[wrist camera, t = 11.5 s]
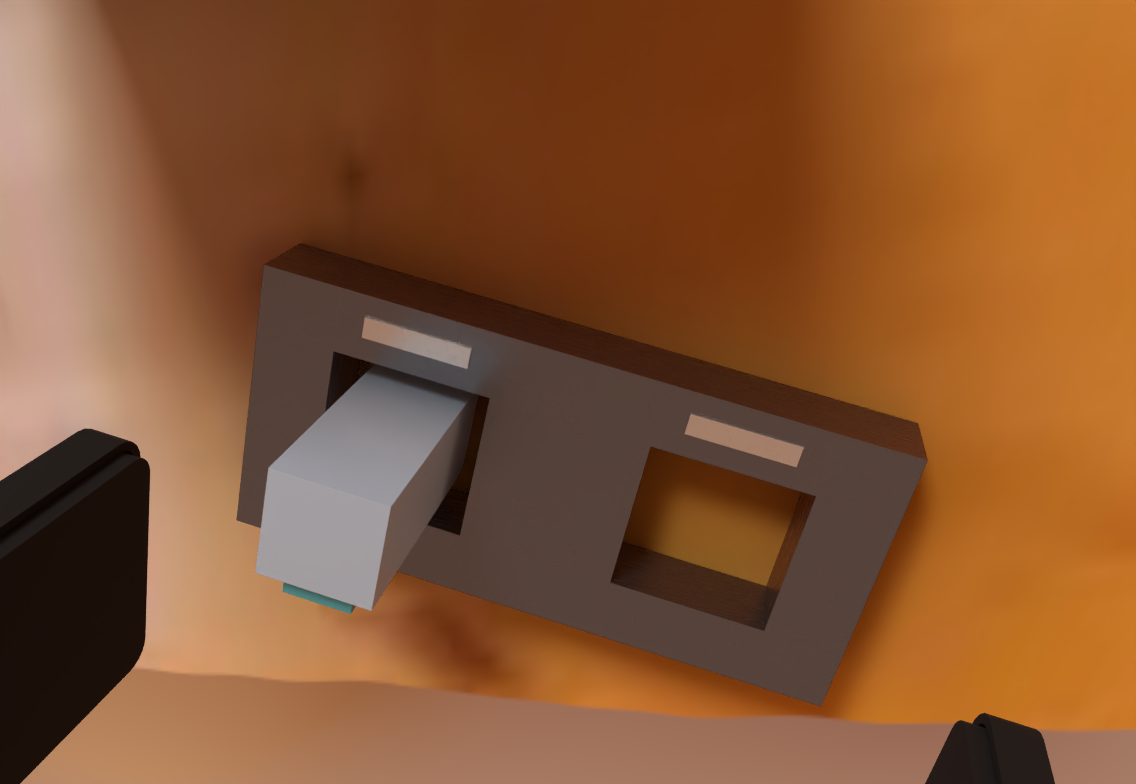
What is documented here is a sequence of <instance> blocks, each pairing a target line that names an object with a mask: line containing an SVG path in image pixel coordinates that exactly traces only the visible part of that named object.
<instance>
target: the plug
mask: <svg viewBox="0 0 1136 784" xmlns="http://www.w3.org/2000/svg"><path fill="white" fill-rule="evenodd" d="M478 396H479V395H477V394H474V393H471V392H467V391H464V390H461V389H457V388H454V387H451V386H447V385H444V384H441V383H437V382H434V381H431V380H428V379H424V378H421V377H418V376H414V375H411V374H408V373H404V372H401V371H398V370H394V369H391V368H388V367H384V366H381V365H378V364H374V365H373V366H372V367H371V368H370V369H369V370H368V371H367V372H366V373H365V374H364V375H363V376H362V377H361V378H360V379H359V380H358V381H357V382H356V383H355V384H354V385H353V386H352V387H351V388H350V389H349V390H348V391H347V392H346V393H345V394H343V395H342V396H341V397H340V398H339V399H338V400H337V401H336V402H335V403H334V404H333V405H332V406H331V407H330V408H329V409H328V410H327V411H326V412H325V413H324V414H323V415H322V416H321V417H320V418H319V419H318V420H317V421H316V422H315V423H314V424H313V425H312V426H311V427H310V428H309V429H308V430H307V431H306V432H305V433H304V434H303V435H301V436H300V437H299V438H298V439H297V440H296V441H295V442H294V443H293V444H292V445H291V446H290V447H289V448H288V449H287V450H286V451H285V452H284V453H283V454H282V455H281V456H280V457H279V458H278V459H277V460H276V461H275V462H274V463H273V464H272V465H271V466H270V467H269V468H268V475H267V483H266V491H265V499H264V507H263V515H262V523H261V531H260V539H259V547H258V555H257V563H256V571H255V573H257V574H260V575H263V576H266V577H269V578H272V579H275V580H279V581H282V582H284V585H283V592H285V593H288V594H291V595H294V596H297V597H301V598H304V599H307V600H310V601H313V602H316V603H319V604H322V605H325V606H328V607H331V608H334V609H337V610H340V611H343V612H346V613H349V614H351V613H352V611H353V610H354V608H355V607H356V606H358V607H361V608H364V609H367V610H370V611H372V609H373V608H374V606H375V605H376V603H377V602H378V600H379V599H380V597H381V595H382V594H383V592H384V591H385V589H386V588H387V586H388V585H389V583H390V581H391V580H392V578H393V577H394V575H395V574H396V572H397V571H398V569H399V567H400V566H401V564H402V563H403V561H404V560H405V558H406V557H407V555H408V554H409V552H410V550H411V549H412V547H413V546H414V544H415V543H416V541H417V540H418V538H419V536H420V535H421V533H422V532H423V530H424V529H425V527H426V526H427V524H428V523H429V521H430V519H431V518H432V516H433V515H434V513H435V512H436V510H437V509H438V507H439V505H440V504H441V502H442V501H443V499H444V498H445V496H446V495H447V493H448V491H449V490H450V488H451V487H452V485H453V484H454V482H455V481H456V479H457V478H458V476H459V474H460V473H461V471H462V469H463V465H464V460H465V456H466V451H467V447H468V442H469V437H470V433H471V428H472V424H473V419H474V414H475V410H476V405H477V401H478Z"/></svg>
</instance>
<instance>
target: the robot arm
mask: <svg viewBox="0 0 1136 784" xmlns="http://www.w3.org/2000/svg"><path fill="white" fill-rule="evenodd" d="M149 491H150V467H149V464H148V462H147V461H146V460H145V459H143V458H140V451H139V449H138V447H137V445H136V444H134V443H133V442H131V441H128V440H125V439H122V438H118V437H115V436H112V435H109V434H106V433H103V432H100V431H96V430H93V429H83V430H81V431H78V432H76V433H75V434H73V435H72V436H70V437H69V438H67V439H65V440H64V441H62V442H61V443H59V444H58V445H56V446H54V447H53V448H51V449H50V450H48V451H47V452H45V453H43V454H42V455H40V456H39V457H37V458H36V459H34V460H33V461H31V462H29V463H28V464H26V465H25V466H23V467H22V468H20V469H18V470H17V471H15V472H14V473H12V474H11V475H9V476H7V477H6V478H4V479H3V480H1V481H0V784H20V783H21V782H22V781H23V780H24V779H25V778H26V777H27V776H28V775H29V774H30V773H31V772H32V771H33V770H34V769H35V768H36V767H37V766H38V765H39V764H40V763H41V762H42V761H43V760H44V759H45V758H46V756H48V754H50V752H52V750H53V749H54V748H55V747H56V746H57V745H58V744H59V743H60V742H61V741H62V740H63V739H64V738H65V737H66V736H67V735H68V734H69V733H70V732H71V731H72V730H73V729H74V728H75V727H76V726H77V725H78V724H79V723H80V722H81V721H82V720H83V719H84V718H85V717H86V716H87V715H88V714H89V713H90V711H92V710H93V709H94V708H95V707H96V706H97V704H98V703H99V702H100V701H101V700H102V699H103V698H104V697H105V696H106V695H107V694H108V693H109V692H110V691H111V690H112V689H113V688H114V687H115V686H116V685H117V684H118V683H119V682H120V681H121V680H122V678H124V677H125V676H126V675H127V674H128V673H129V672H130V671H131V669H132V668H133V667H134V666H135V664H136V662H137V661H138V659H139V657H140V655H141V653H142V650H143V647H144V643H145V630H146V595H147V560H148V526H149ZM925 784H1055V782H1054V778H1053V774H1052V770H1051V766H1050V763H1049V758H1048V755H1047V750H1046V747H1045V743H1044V739H1043V737H1042V735H1041V733H1040V732H1039V731H1038V730H1036V729H1033V728H1030V727H1027V726H1024V725H1021V724H1018V723H1014V722H1011V721H1008V720H1005V719H1002V718H999V717H996V716H992V715H989V714H986V713H983V714H980V715H979V716H978V717H977V718H976V719H975V720H974V722H973V724H971V723H968V722H965V721H962V720H960V721H958V722H957V723H955V725H954V726H953V728H952V730H951V732H950V734H949V736H948V738H947V740H946V742H945V744H944V746H943V748H942V750H941V753H940V754H939V756H938V759H937V761H936V763H935V765H934V767H933V769H932V771H931V773H930V775H929V777H928V779H927V781H926V783H925Z"/></svg>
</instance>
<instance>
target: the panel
mask: <svg viewBox="0 0 1136 784" xmlns="http://www.w3.org/2000/svg"><path fill="white" fill-rule="evenodd" d="M359 359H361V360H364V361H368V362H371V363H374V364H378V365H381V366H384V367H388V368H391V369H394V370H398V371H401V372H404V373H408V374H411V375H414V376H418V377H421V378H424V379H428V380H431V381H434V382H437V383H441V384H444V385H447V386H451V387H454V388H457V389H461V390H464V391H467V392H471V393H474V394H477V395H481V396H484V397H487V398H490V400H489V404H488V409H487V414H486V418H485V423H484V427H483V432H482V437H481V441H480V446H479V450H478V455H477V460H476V464H475V469H474V473H473V478H472V483H471V487H470V492H469V494H465V493H462V492H459V491H456V490H453V489H450V490H449V491H448V493H447V495H446V496H445V498H444V499H443V501H442V502H441V504H440V505H439V507H438V509H437V510H436V512H435V513H434V515H433V516H432V518H431V519H430V521H429V523H428V524H427V526H426V527H425V529H424V530H423V532H422V533H421V535H420V536H419V538H418V540H417V541H416V543H415V544H414V546H413V547H412V549H411V550H410V552H409V554H408V555H407V557H406V558H405V560H404V561H403V563H402V564H401V566H400V567H399V569H398V572H401V573H404V574H407V575H410V576H413V577H416V578H419V579H423V580H426V581H429V582H432V583H435V584H438V585H441V586H445V587H448V588H451V589H454V590H457V591H460V592H463V593H467V594H470V595H473V596H476V597H479V598H482V599H485V600H488V601H492V602H495V603H498V604H501V605H504V606H507V607H510V608H514V609H517V610H520V611H523V612H526V613H529V614H532V615H535V616H539V617H542V618H545V619H548V620H551V621H554V622H557V623H561V624H564V625H567V626H570V627H573V628H576V629H579V630H583V631H586V632H589V633H592V634H595V635H598V636H601V637H604V638H608V639H611V640H614V641H617V642H620V643H623V644H626V645H630V646H633V647H636V648H639V649H642V650H645V651H648V652H651V653H655V654H658V655H661V656H664V657H667V658H670V659H673V660H677V661H680V662H683V663H686V664H689V665H692V666H695V667H699V668H702V669H705V670H708V671H711V672H714V673H717V674H720V675H724V676H727V677H730V678H733V679H736V680H739V681H742V682H746V683H749V684H752V685H755V686H758V687H761V688H764V689H768V690H771V691H774V692H777V693H780V694H783V695H786V696H789V697H793V698H796V699H799V700H802V701H805V702H808V703H811V704H815V705H818V706H821V705H822V703H823V701H824V698H825V696H826V694H827V691H828V689H829V687H830V685H831V682H832V680H833V678H834V675H835V673H836V671H837V668H838V666H839V664H840V661H841V659H842V657H843V655H844V652H845V650H846V648H847V645H848V643H849V641H850V638H851V636H852V634H853V631H854V629H855V627H856V625H857V622H858V620H859V618H860V615H861V613H862V611H863V608H864V606H865V604H866V601H867V599H868V597H869V594H870V592H871V590H872V588H873V585H874V583H875V581H876V578H877V576H878V574H879V571H880V569H881V567H882V564H883V562H884V560H885V558H886V555H887V553H888V551H889V548H890V546H891V544H892V541H893V539H894V537H895V534H896V532H897V530H898V527H899V525H900V523H901V521H902V518H903V516H904V514H905V511H906V509H907V507H908V504H909V502H910V500H911V497H912V495H913V493H914V491H915V488H916V486H917V484H918V481H919V479H920V477H921V474H922V472H923V470H924V467H925V465H926V463H927V461H928V460H927V456H926V452H925V448H924V444H923V441H922V437H921V433H920V429H919V425H918V423H914V422H911V421H907V420H904V419H900V418H897V417H894V416H890V415H887V414H883V413H880V412H876V411H873V410H870V409H866V408H863V407H859V406H856V405H852V404H849V403H846V402H842V401H839V400H835V399H832V398H828V397H825V396H822V395H818V394H815V393H811V392H808V391H804V390H801V389H797V388H794V387H791V386H787V385H784V384H780V383H777V382H773V381H770V380H767V379H763V378H760V377H756V376H753V375H749V374H746V373H743V372H739V371H736V370H732V369H729V368H725V367H722V366H719V365H715V364H712V363H708V362H705V361H701V360H698V359H695V358H691V357H688V356H684V355H681V354H677V353H674V352H671V351H667V350H664V349H660V348H657V347H653V346H650V345H647V344H643V343H640V342H636V341H633V340H629V339H626V338H623V337H619V336H616V335H612V334H609V333H605V332H602V331H599V330H595V329H592V328H588V327H585V326H581V325H578V324H575V323H571V322H568V321H564V320H561V319H557V318H554V317H551V316H547V315H544V314H540V313H537V312H533V311H530V310H526V309H523V308H520V307H516V306H513V305H509V304H506V303H502V302H499V301H496V300H492V299H489V298H485V297H482V296H478V295H475V294H472V293H468V292H465V291H461V290H458V289H454V288H451V287H448V286H444V285H441V284H437V283H434V282H430V281H427V280H424V279H420V278H417V277H413V276H410V275H406V274H403V273H400V272H396V271H393V270H389V269H386V268H382V267H379V266H376V265H372V264H369V263H365V262H362V261H358V260H355V259H352V258H348V257H345V256H341V255H338V254H334V253H331V252H328V251H324V250H321V249H317V248H314V247H310V246H307V245H304V244H298V245H297V246H295V247H293V248H292V249H290V250H288V251H287V252H285V253H283V254H281V255H280V256H278V257H276V258H275V259H273V260H271V261H269V262H268V263H266V264H264V268H263V277H262V287H261V296H260V306H259V315H258V324H257V334H256V343H255V352H254V362H253V371H252V381H251V390H250V399H249V409H248V418H247V428H246V437H245V446H244V456H243V465H242V475H241V484H240V493H239V503H238V512H237V520H238V521H241V522H244V523H247V524H250V525H253V526H256V527H260V528H261V523H262V515H263V507H264V499H265V491H266V483H267V475H268V468H269V467H270V466H271V465H272V464H273V463H274V462H275V461H276V460H277V459H278V458H279V457H280V456H281V455H282V454H283V453H284V452H285V451H286V450H287V449H288V448H289V447H290V446H291V445H292V444H293V443H294V442H295V441H296V440H297V439H298V438H299V437H300V436H301V435H303V434H304V433H305V432H306V431H307V430H308V429H309V428H310V427H311V426H312V425H313V424H314V423H315V422H316V421H317V420H318V419H319V418H320V417H321V416H322V415H323V414H324V413H325V412H326V411H327V410H328V409H329V408H330V407H331V406H332V405H333V404H334V403H335V402H336V401H337V400H338V399H339V398H340V397H341V396H342V395H343V394H345V393H346V392H347V391H348V390H349V389H350V388H351V387H352V386H353V385H354V384H355V383H356V377H357V370H358V364H359ZM650 447H654V448H657V449H660V450H664V451H667V452H670V453H674V454H677V455H680V456H684V457H687V458H690V459H694V460H697V461H700V462H704V463H707V464H710V465H714V466H717V467H720V468H724V469H727V470H730V471H734V472H737V473H740V474H744V475H747V476H750V477H754V478H757V479H760V480H764V481H767V482H770V483H774V484H777V485H780V486H784V487H787V488H790V489H794V490H797V491H800V492H802V494H801V496H800V499H799V502H798V504H797V507H796V510H795V512H794V515H793V517H792V520H791V523H790V525H789V528H788V531H787V533H786V536H785V539H784V541H783V544H782V546H781V549H780V552H779V554H778V557H777V560H776V562H775V565H774V568H773V570H772V573H771V576H770V578H769V581H768V583H767V586H762V585H759V584H756V583H753V582H749V581H746V580H743V579H740V578H737V577H733V576H730V575H727V574H724V573H720V572H717V571H714V570H711V569H707V568H704V567H701V566H698V565H695V564H691V563H688V562H685V561H682V560H678V559H675V558H672V557H669V556H666V555H662V554H659V553H656V552H653V551H649V550H646V549H643V548H640V547H637V546H633V545H630V544H627V543H624V542H622V541H623V538H624V534H625V531H626V528H627V524H628V521H629V517H630V514H631V511H632V507H633V504H634V501H635V497H636V494H637V491H638V487H639V484H640V481H641V477H642V474H643V471H644V467H645V464H646V461H647V457H648V454H649V451H650Z"/></svg>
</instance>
